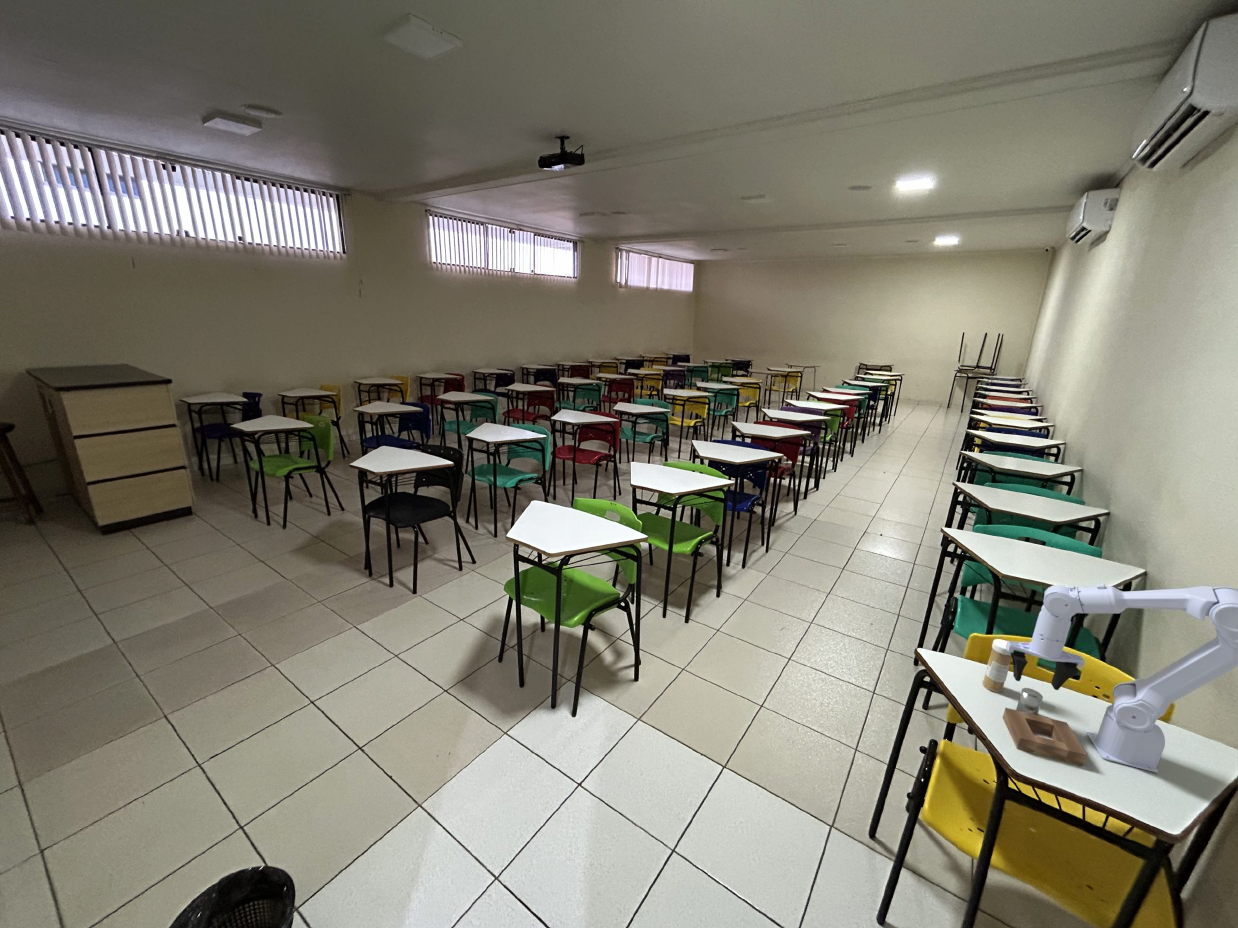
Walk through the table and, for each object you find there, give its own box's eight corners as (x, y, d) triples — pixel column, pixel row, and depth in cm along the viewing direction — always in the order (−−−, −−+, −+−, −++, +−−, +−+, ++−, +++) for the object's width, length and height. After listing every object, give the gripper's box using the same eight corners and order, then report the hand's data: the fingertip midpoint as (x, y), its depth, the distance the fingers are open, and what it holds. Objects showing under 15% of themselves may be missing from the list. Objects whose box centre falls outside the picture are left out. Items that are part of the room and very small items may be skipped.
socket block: (1063, 732, 118) (1066, 722, 117) (1083, 765, 109) (1086, 754, 108) (1002, 717, 122) (1005, 707, 121) (1016, 748, 113) (1020, 737, 112)
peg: (1032, 710, 125) (1039, 690, 123) (1039, 721, 121) (1045, 701, 119) (1013, 705, 126) (1019, 685, 124) (1019, 716, 122) (1025, 696, 121)
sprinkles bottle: (985, 678, 136) (996, 636, 132) (1005, 688, 132) (1017, 644, 128) (979, 686, 133) (991, 642, 129) (1000, 695, 129) (1012, 651, 126)
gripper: (1080, 632, 118) (1065, 680, 122) (1007, 618, 123) (994, 664, 127) (1095, 649, 112) (1078, 699, 116) (1017, 633, 117) (1003, 682, 121)
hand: (1035, 682), depth 121 cm, fingers open, 7 cm apart
